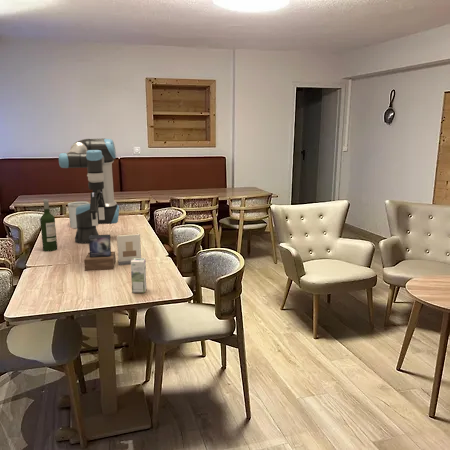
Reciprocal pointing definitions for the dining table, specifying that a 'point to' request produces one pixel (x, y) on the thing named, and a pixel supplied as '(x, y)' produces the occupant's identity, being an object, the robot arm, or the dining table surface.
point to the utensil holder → (74, 212)
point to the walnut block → (100, 262)
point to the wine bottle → (48, 229)
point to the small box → (99, 246)
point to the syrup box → (138, 275)
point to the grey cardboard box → (128, 248)
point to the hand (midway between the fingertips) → (98, 222)
